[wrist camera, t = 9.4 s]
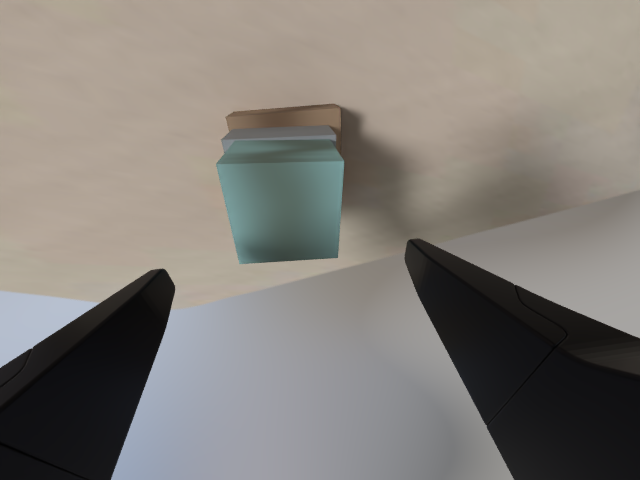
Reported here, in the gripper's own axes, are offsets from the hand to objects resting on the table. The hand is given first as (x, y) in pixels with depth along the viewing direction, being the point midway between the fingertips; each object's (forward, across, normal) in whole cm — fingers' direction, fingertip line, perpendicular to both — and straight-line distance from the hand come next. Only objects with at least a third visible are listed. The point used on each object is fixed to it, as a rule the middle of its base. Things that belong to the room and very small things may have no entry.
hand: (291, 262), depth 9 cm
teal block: (+7, 0, 0) cm, 7 cm away
